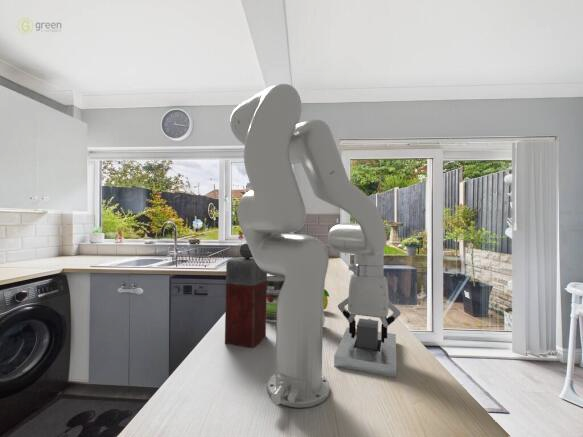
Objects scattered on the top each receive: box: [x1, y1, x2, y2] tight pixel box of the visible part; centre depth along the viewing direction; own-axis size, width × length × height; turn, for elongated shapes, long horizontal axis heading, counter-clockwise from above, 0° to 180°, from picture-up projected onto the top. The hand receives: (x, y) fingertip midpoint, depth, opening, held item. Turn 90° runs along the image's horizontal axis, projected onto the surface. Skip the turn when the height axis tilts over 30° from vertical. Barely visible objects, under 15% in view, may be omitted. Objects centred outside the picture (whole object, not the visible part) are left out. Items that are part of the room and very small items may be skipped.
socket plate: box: [333, 326, 397, 378], centre depth 75 cm, size 20×14×3 cm
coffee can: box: [266, 275, 285, 323], centre depth 102 cm, size 10×10×14 cm
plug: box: [356, 318, 379, 352], centre depth 76 cm, size 9×5×8 cm, turn 160°
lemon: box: [323, 288, 330, 310], centre depth 110 cm, size 7×6×10 cm
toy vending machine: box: [224, 242, 268, 349], centre depth 84 cm, size 9×11×28 cm
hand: (367, 337), depth 75 cm, fingers open, 7 cm apart
